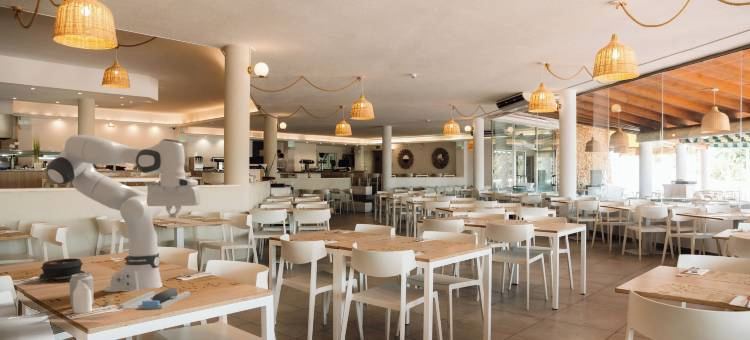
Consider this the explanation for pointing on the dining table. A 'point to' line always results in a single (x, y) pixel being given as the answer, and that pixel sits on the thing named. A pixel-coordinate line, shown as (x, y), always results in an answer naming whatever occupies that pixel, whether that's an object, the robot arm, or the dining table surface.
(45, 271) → the casserole
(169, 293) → the dark grey capsule
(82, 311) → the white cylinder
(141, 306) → the grey shallow tray
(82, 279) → the can
